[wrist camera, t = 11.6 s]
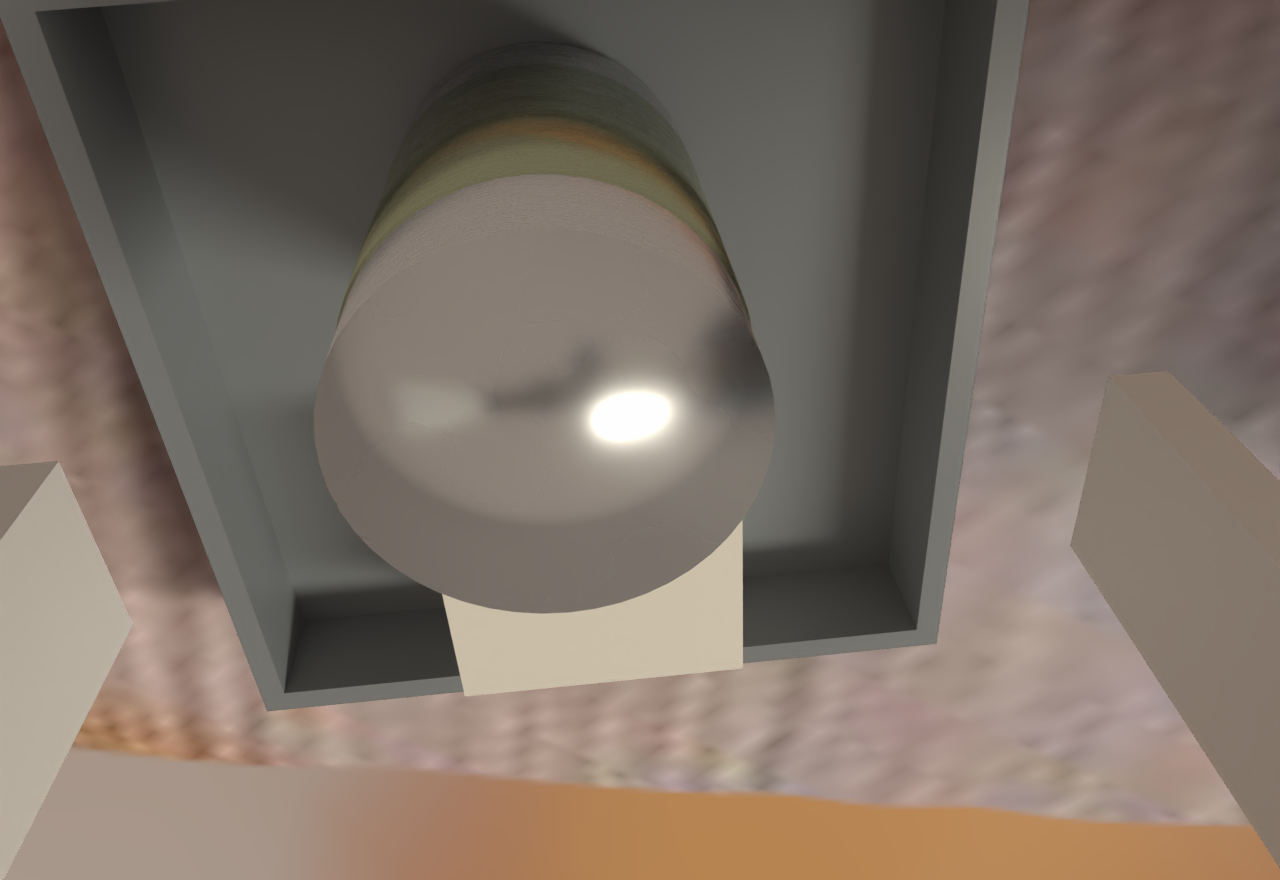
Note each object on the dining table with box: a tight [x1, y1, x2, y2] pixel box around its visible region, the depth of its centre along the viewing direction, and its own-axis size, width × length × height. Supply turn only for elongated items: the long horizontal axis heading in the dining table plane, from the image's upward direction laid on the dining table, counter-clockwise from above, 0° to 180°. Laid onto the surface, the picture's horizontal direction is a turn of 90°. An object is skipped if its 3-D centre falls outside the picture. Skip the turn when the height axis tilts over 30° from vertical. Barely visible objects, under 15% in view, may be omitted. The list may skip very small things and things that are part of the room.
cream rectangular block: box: [442, 520, 743, 696], centre depth 26 cm, size 7×5×4 cm
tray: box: [0, 0, 1030, 711], centre depth 24 cm, size 18×18×4 cm
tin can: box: [314, 41, 776, 614], centre depth 18 cm, size 6×6×10 cm
